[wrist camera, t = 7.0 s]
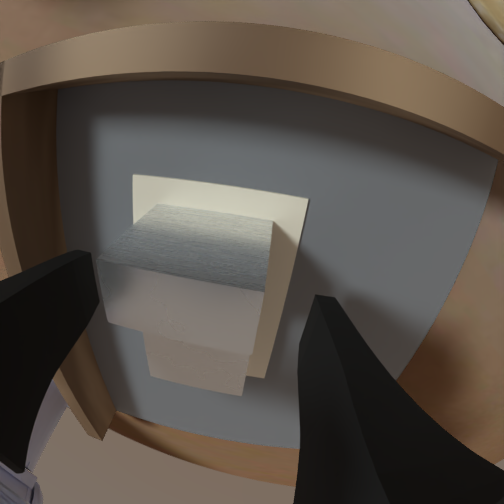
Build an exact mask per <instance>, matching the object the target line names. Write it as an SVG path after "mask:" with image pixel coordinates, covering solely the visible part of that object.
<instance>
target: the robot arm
mask: <svg viewBox="0 0 504 504" xmlns="http://www.w3.org/2000/svg"><path fill="white" fill-rule="evenodd" d="M99 302H100V300H99V296H98V291H97V285H96V280H95V274H94V269H93V263H92V256H91V252H86V251H82V250H74V251H70V252H67V253H65V254H62V255H59V256H57V257H54V258H52V259H50V260H47V261H45V262H43V263H40V264H38V265H36V266H34V267H32V268H29V269H27V270H25V271H23V272H20V273H18V274H16V275H13V276H11V277H9V278H6V279H4V280H2V281H0V504H43V495H42V492H41V490H40V486H39V484H38V483H37V482H36V480H37V477H36V476H34V475H33V474H32V473H30V472H29V471H31V472H33V471H34V469H35V467H36V465H37V463H38V460H39V459H40V457H41V454H42V453H43V451H44V449H45V447H46V445H47V443H48V441H49V439H50V437H51V435H52V433H53V431H54V429H55V427H56V426H57V424H58V422H59V420H60V418H61V416H62V414H63V413H64V411H65V409H66V407H68V408H70V407H69V406H68V404H67V403H66V401H65V399H64V398H63V396H62V394H61V393H60V391H59V389H58V388H57V386H56V384H55V382H54V381H53V377H54V376H55V374H56V372H57V370H58V369H59V367H60V366H61V364H62V363H63V361H64V360H65V358H66V357H67V355H68V354H69V352H70V351H71V349H72V348H73V346H74V345H75V343H76V342H77V340H78V339H79V337H80V336H81V334H82V333H83V331H84V330H85V328H86V327H87V325H88V324H89V322H90V320H91V318H92V316H93V314H94V312H95V310H96V308H97V306H98V304H99ZM297 377H298V398H299V419H300V452H299V463H298V473H297V481H296V489H295V496H294V503H293V504H504V470H502V469H500V468H499V467H497V466H495V465H494V464H492V463H490V462H489V461H487V460H485V459H484V458H482V457H481V456H479V455H477V454H476V453H474V452H473V451H471V450H470V449H469V448H467V447H466V446H465V445H463V444H462V443H461V442H459V441H458V440H457V439H455V438H454V437H453V436H452V435H450V434H449V433H448V432H447V431H446V430H444V429H443V428H442V427H441V426H440V425H439V424H438V423H436V422H435V421H434V420H433V419H432V418H431V417H430V416H429V415H428V414H427V413H426V412H425V411H424V410H422V409H421V408H420V407H419V406H418V405H417V404H416V403H415V401H414V400H413V399H412V398H411V397H410V396H409V395H408V394H407V393H406V392H405V391H404V390H403V388H402V387H401V386H400V385H399V384H398V383H397V382H396V381H395V379H394V378H393V377H392V376H391V375H390V373H389V372H388V371H387V370H386V368H385V367H384V366H383V364H382V363H381V362H380V361H379V359H378V358H377V357H376V355H375V354H374V353H373V351H372V350H371V349H370V347H369V346H368V345H367V343H366V342H365V340H364V339H363V337H362V336H361V335H360V333H359V332H358V330H357V329H356V327H355V326H354V324H353V323H352V321H351V320H350V318H349V317H348V315H347V314H346V312H345V311H344V309H343V308H342V306H341V305H340V304H339V302H338V301H337V299H336V298H335V297H330V296H324V295H317V294H315V296H314V300H313V303H312V306H311V309H310V312H309V315H308V318H307V321H306V324H305V327H304V330H303V333H302V336H301V339H300V342H299V352H298V368H297ZM25 468H26V469H28V470H29V471H28V470H26V469H25Z"/></svg>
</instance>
